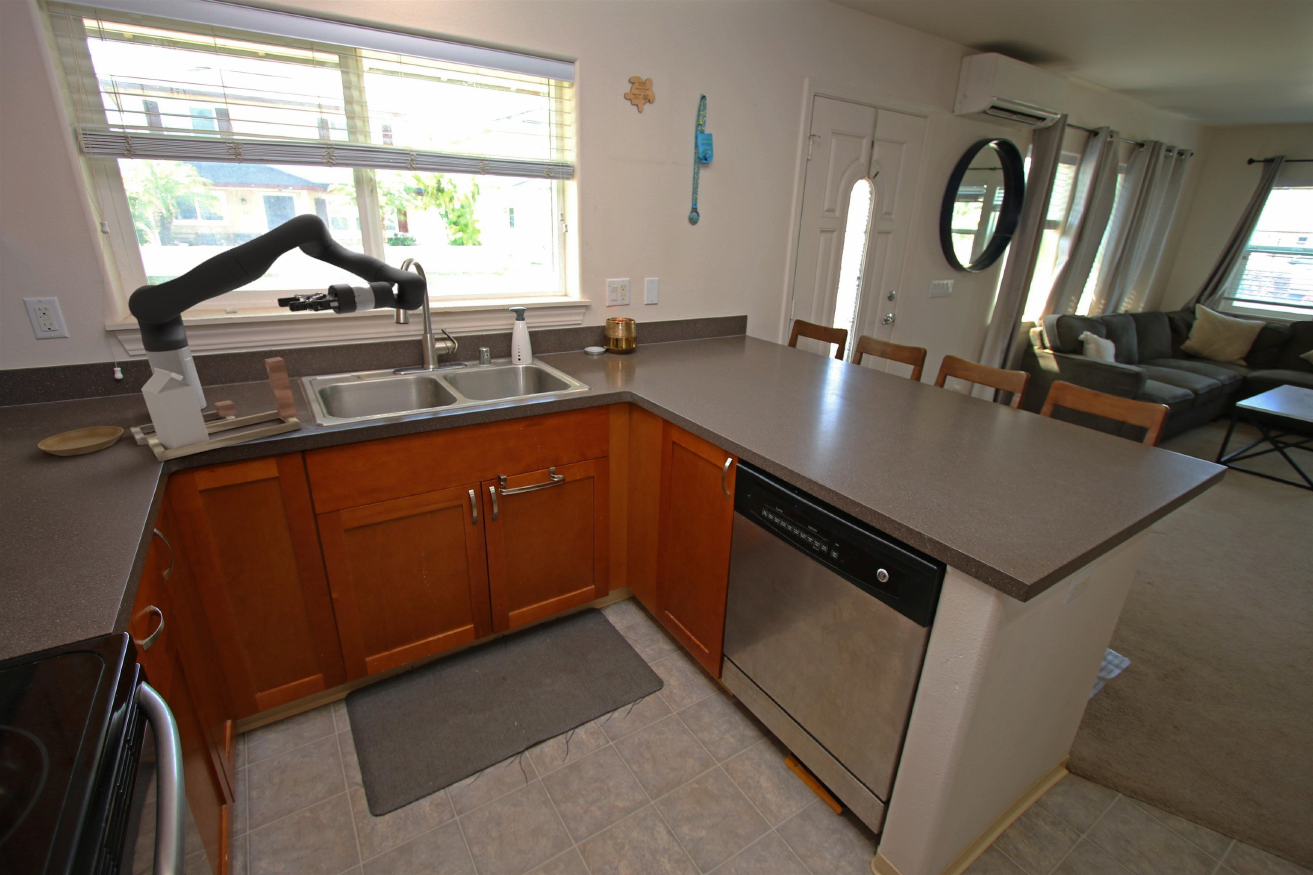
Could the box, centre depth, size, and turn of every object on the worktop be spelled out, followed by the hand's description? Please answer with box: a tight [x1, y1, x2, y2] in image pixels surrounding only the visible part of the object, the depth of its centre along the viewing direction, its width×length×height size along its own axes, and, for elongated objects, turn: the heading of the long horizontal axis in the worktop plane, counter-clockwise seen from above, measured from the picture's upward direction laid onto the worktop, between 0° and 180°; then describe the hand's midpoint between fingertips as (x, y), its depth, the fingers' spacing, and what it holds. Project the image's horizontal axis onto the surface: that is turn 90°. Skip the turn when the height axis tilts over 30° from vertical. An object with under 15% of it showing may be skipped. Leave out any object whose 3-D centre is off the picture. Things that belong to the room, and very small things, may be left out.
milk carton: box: [141, 368, 211, 450], centre depth 133 cm, size 7×7×19 cm
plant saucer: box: [37, 425, 124, 457], centre depth 137 cm, size 15×15×3 cm
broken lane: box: [129, 399, 237, 446], centre depth 147 cm, size 10×21×5 cm, turn 137°
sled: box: [147, 356, 303, 462], centre depth 140 cm, size 13×30×17 cm, turn 137°
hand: (283, 305), depth 144 cm, fingers open, 8 cm apart
